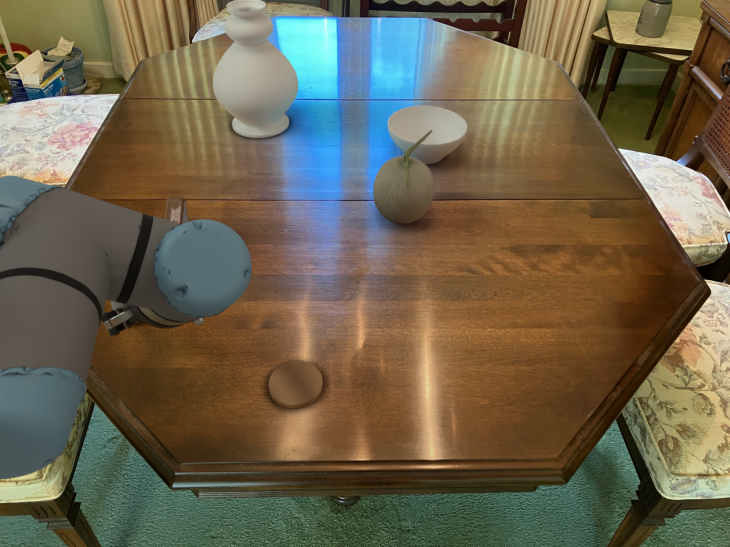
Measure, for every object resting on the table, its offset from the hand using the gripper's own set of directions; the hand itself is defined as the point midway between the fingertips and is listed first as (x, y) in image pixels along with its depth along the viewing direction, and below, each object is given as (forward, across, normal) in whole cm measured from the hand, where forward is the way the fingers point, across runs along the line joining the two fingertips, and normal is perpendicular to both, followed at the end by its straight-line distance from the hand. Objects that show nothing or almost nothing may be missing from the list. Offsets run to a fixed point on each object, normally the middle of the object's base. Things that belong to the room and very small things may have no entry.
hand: (139, 311), depth 76 cm
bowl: (+7, +65, +1) cm, 66 cm away
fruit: (-1, +46, -7) cm, 47 cm away
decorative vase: (+31, +47, +25) cm, 62 cm away
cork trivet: (-12, +10, -18) cm, 24 cm away
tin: (+11, +12, +5) cm, 17 cm away
